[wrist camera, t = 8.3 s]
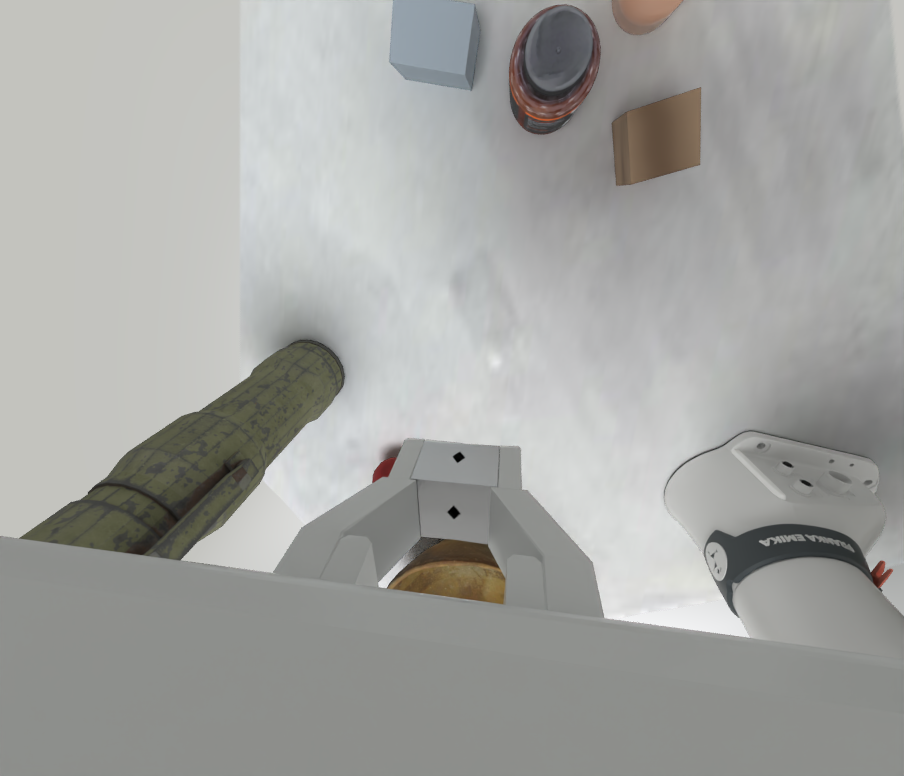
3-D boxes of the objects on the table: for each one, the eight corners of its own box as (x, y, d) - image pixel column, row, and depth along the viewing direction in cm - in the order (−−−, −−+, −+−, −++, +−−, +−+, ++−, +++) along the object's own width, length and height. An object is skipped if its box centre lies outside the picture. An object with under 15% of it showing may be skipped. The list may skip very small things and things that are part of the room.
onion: (389, 479, 56) (371, 520, 49) (376, 448, 53) (355, 487, 46) (425, 476, 54) (412, 518, 47) (414, 444, 52) (398, 483, 45)
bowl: (546, 598, 63) (551, 663, 54) (418, 596, 68) (404, 655, 59) (532, 501, 53) (536, 562, 45) (385, 507, 58) (363, 563, 50)
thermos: (259, 353, 49) (-177, 625, 18) (334, 327, 45) (-46, 606, 15) (293, 409, 52) (-23, 717, 21) (365, 388, 49) (112, 720, 18)
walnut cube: (674, 102, 31) (701, 87, 27) (675, 168, 33) (700, 164, 29) (611, 123, 32) (626, 111, 28) (616, 185, 34) (631, 184, 30)
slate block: (480, 31, 31) (474, 4, 26) (471, 90, 33) (464, 75, 28) (410, 19, 31) (393, -9, 27) (405, 79, 33) (389, 62, 29)
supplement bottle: (588, 114, 32) (622, 81, 22) (522, 148, 34) (526, 131, 24) (569, 32, 30) (597, -46, 20) (500, 73, 32) (494, 20, 22)
